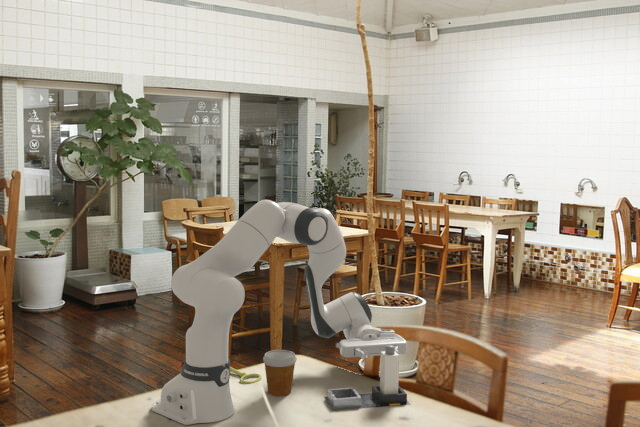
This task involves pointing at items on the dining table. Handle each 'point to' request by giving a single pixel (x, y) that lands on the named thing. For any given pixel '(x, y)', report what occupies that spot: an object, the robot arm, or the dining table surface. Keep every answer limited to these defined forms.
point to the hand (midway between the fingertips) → (380, 355)
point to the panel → (363, 399)
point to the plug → (389, 371)
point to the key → (246, 376)
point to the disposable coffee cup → (279, 371)
